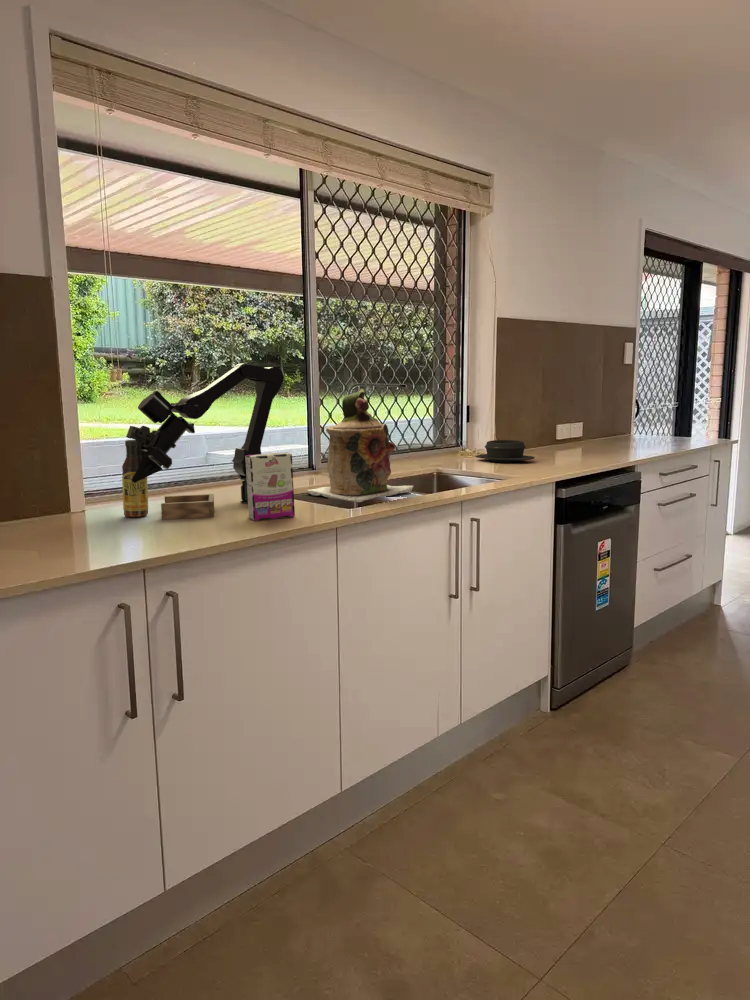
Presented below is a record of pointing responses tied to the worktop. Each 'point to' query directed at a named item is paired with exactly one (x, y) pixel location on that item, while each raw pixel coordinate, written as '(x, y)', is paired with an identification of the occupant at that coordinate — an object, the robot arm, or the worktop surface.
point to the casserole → (505, 451)
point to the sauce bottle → (133, 492)
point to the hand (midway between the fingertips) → (129, 480)
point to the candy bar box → (270, 486)
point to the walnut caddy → (188, 506)
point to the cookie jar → (358, 455)
